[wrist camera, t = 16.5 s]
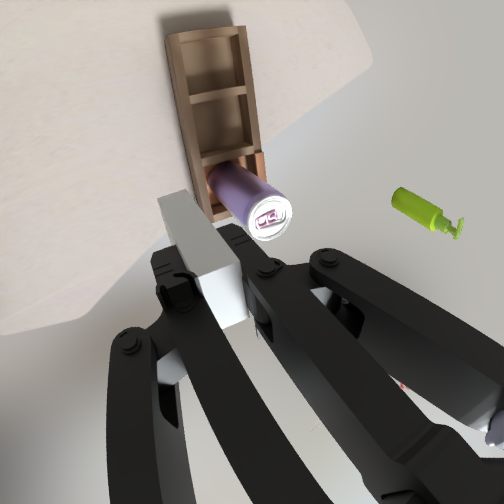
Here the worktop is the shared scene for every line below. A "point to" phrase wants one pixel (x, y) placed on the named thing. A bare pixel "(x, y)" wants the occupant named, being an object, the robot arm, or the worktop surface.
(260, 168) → the can caddy
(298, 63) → the worktop surface
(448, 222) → the soap dispenser
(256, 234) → the beverage can
